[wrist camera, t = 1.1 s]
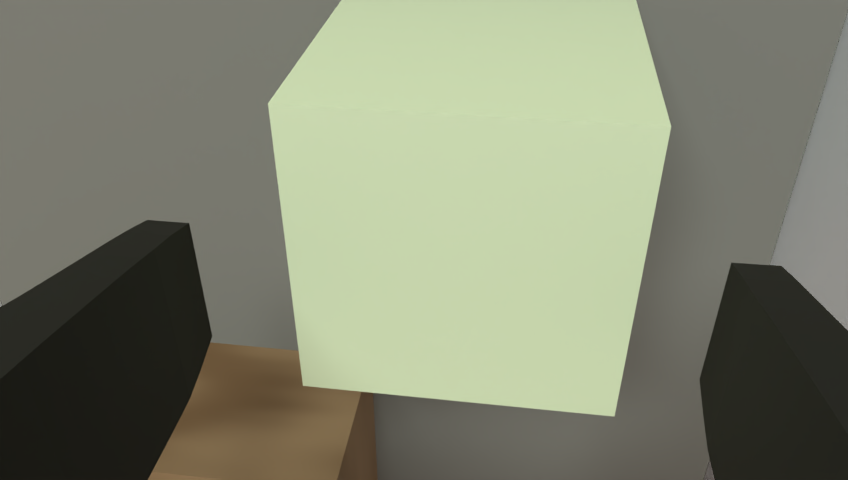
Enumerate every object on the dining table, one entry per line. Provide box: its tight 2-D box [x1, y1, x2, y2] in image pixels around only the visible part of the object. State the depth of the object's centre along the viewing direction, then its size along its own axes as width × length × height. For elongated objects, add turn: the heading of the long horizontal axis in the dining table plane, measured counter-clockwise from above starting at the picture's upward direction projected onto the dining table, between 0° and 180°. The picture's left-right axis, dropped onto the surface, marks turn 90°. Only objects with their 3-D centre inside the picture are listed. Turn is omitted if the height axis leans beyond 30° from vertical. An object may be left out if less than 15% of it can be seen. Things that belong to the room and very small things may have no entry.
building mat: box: [0, 0, 848, 480], centre depth 19 cm, size 18×20×1 cm
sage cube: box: [268, 0, 671, 417], centre depth 13 cm, size 5×5×5 cm
